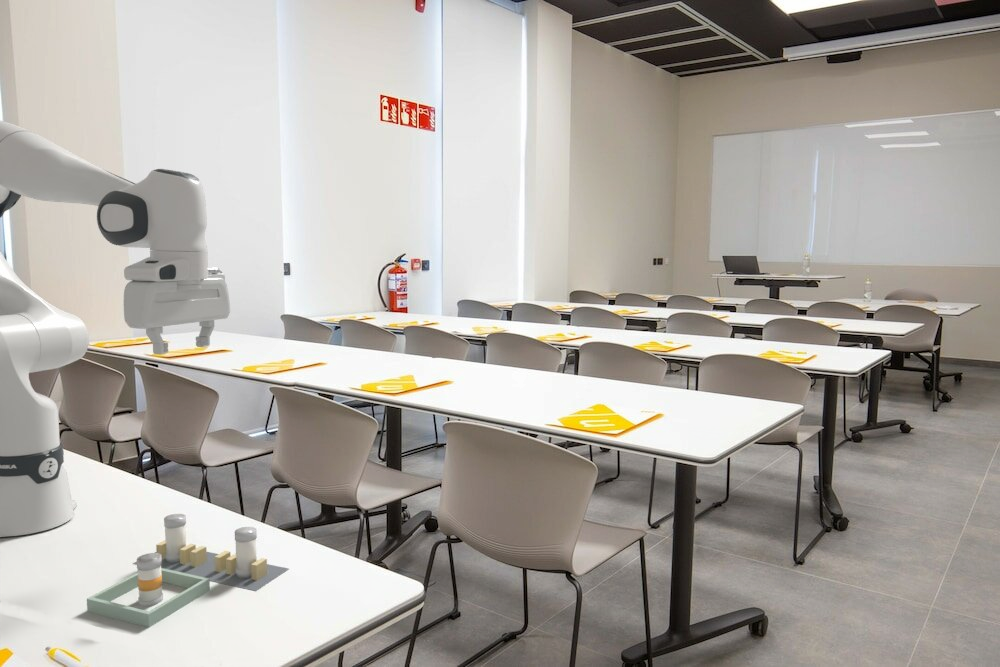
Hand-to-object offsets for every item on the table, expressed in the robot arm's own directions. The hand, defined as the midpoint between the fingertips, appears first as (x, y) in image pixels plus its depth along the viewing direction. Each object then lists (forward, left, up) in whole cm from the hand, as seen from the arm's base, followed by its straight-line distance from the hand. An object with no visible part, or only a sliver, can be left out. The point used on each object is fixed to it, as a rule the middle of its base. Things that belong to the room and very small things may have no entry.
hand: (182, 350), depth 122 cm
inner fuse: (+5, -8, -33) cm, 34 cm away
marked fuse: (+12, -20, -34) cm, 41 cm away
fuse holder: (+12, -8, -34) cm, 37 cm away
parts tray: (+12, -20, -34) cm, 41 cm away
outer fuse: (+19, -8, -33) cm, 39 cm away
